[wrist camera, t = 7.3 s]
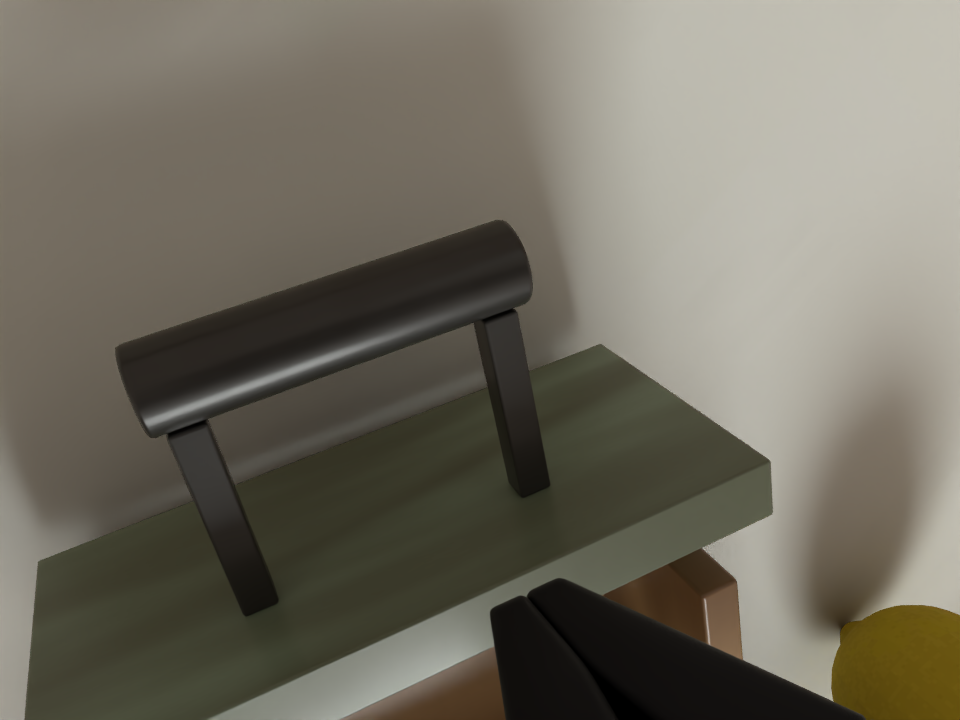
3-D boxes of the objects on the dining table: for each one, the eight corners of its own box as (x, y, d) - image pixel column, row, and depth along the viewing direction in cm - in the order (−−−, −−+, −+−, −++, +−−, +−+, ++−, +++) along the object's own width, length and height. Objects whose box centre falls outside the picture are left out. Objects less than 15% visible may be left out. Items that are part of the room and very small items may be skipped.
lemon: (866, 530, 28) (1119, 706, 21) (930, 599, 31) (1170, 774, 24) (751, 659, 28) (966, 875, 21) (826, 716, 31) (1035, 921, 24)
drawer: (-91, 333, 14) (-185, 515, 9) (569, 130, 17) (759, 185, 13) (279, 993, 24) (330, 1258, 19) (664, 780, 27) (794, 957, 22)
